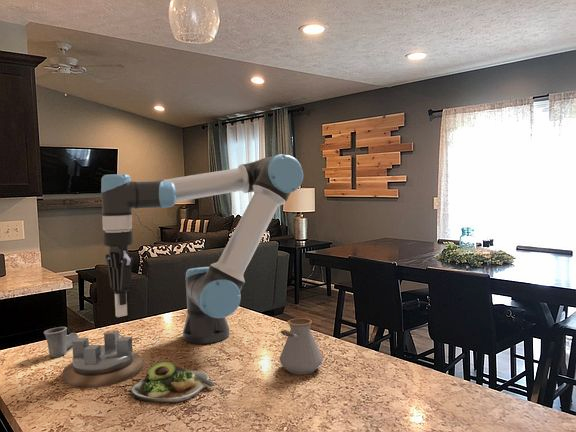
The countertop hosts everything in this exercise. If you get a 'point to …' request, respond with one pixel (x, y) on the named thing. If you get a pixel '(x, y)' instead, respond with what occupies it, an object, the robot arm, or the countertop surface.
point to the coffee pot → (300, 348)
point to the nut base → (102, 375)
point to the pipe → (59, 340)
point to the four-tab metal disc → (102, 354)
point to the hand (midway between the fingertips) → (121, 315)
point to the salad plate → (170, 383)
